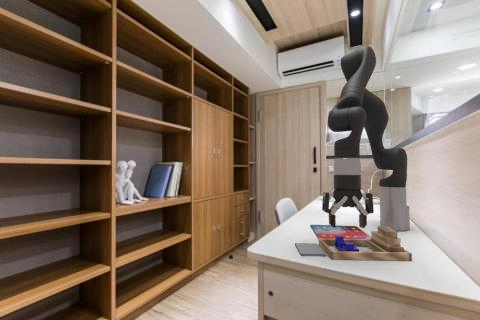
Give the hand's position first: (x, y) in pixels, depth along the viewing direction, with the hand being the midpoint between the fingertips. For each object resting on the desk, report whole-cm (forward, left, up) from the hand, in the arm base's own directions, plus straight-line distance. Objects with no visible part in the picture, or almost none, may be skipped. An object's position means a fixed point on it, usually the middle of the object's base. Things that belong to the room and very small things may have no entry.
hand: (347, 227), depth 67 cm
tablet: (-5, -17, -8) cm, 19 cm away
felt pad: (+11, -1, -7) cm, 13 cm away
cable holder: (0, 0, -8) cm, 8 cm away
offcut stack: (-11, 0, -7) cm, 13 cm away
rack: (-4, 0, -7) cm, 8 cm away
